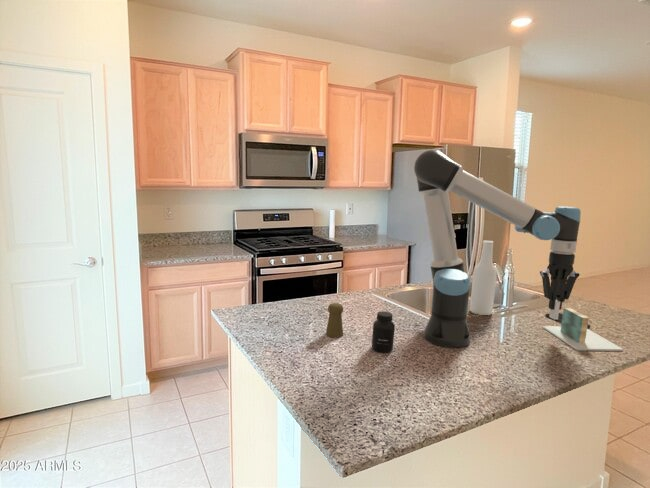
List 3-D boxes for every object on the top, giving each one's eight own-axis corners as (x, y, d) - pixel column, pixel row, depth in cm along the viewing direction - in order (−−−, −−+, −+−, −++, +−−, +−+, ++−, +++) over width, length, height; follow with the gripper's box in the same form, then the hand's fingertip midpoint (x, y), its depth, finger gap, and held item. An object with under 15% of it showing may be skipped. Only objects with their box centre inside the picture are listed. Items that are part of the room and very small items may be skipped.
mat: (576, 350, 136) (576, 348, 136) (542, 327, 156) (542, 326, 156) (623, 350, 137) (623, 349, 137) (583, 328, 157) (583, 326, 157)
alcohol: (492, 317, 165) (500, 243, 160) (469, 314, 168) (476, 241, 163) (491, 310, 174) (499, 240, 168) (469, 307, 176) (476, 238, 171)
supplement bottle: (379, 355, 128) (381, 318, 125) (367, 347, 134) (369, 311, 131) (397, 351, 131) (400, 315, 129) (384, 343, 137) (387, 308, 135)
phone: (558, 312, 172) (591, 325, 158) (558, 315, 172) (591, 328, 158) (543, 314, 169) (576, 327, 155) (543, 316, 170) (575, 330, 156)
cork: (346, 333, 144) (347, 303, 142) (339, 339, 139) (340, 308, 137) (330, 329, 147) (331, 300, 145) (322, 335, 141) (324, 305, 139)
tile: (560, 331, 151) (563, 307, 150) (566, 331, 151) (570, 308, 150) (578, 342, 141) (581, 317, 140) (584, 342, 142) (588, 317, 140)
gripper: (550, 253, 137) (541, 321, 141) (588, 254, 137) (578, 322, 141) (537, 249, 144) (529, 314, 148) (573, 250, 145) (564, 314, 149)
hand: (553, 318), depth 145 cm, fingers closed
